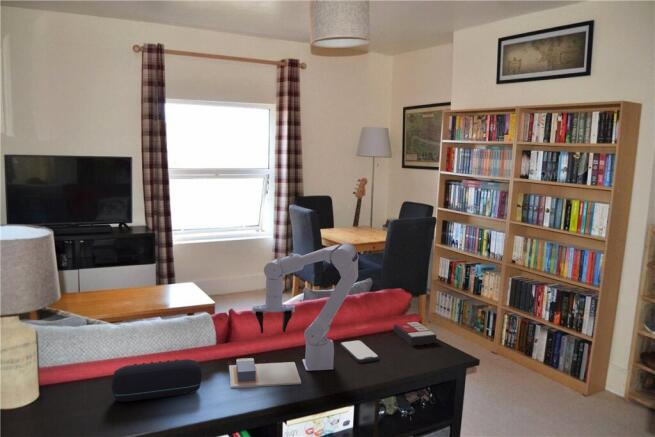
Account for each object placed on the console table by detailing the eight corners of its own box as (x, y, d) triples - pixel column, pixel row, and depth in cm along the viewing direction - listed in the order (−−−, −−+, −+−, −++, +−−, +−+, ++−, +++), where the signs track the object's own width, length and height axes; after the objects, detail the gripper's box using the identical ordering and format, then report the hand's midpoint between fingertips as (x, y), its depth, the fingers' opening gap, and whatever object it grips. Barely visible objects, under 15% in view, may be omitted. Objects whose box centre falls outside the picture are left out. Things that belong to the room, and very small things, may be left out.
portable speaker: (199, 381, 163) (199, 352, 161) (203, 398, 154) (203, 366, 152) (112, 392, 154) (111, 361, 153) (111, 410, 145) (110, 377, 143)
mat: (294, 363, 178) (294, 361, 178) (301, 383, 165) (301, 382, 165) (229, 367, 174) (229, 365, 173) (230, 388, 160) (230, 386, 160)
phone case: (338, 346, 196) (357, 364, 181) (339, 342, 195) (358, 360, 181) (359, 343, 199) (380, 361, 185) (360, 339, 199) (380, 356, 184)
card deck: (255, 380, 164) (255, 370, 163) (237, 381, 163) (238, 371, 162) (253, 367, 173) (253, 358, 172) (236, 368, 171) (236, 358, 171)
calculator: (417, 320, 215) (437, 333, 201) (417, 330, 215) (436, 344, 201) (393, 322, 211) (411, 335, 197) (393, 333, 212) (411, 346, 198)
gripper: (293, 290, 184) (291, 326, 186) (251, 291, 181) (251, 327, 183) (296, 296, 177) (294, 334, 180) (253, 297, 174) (252, 336, 176)
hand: (272, 331), depth 181 cm, fingers open, 7 cm apart
